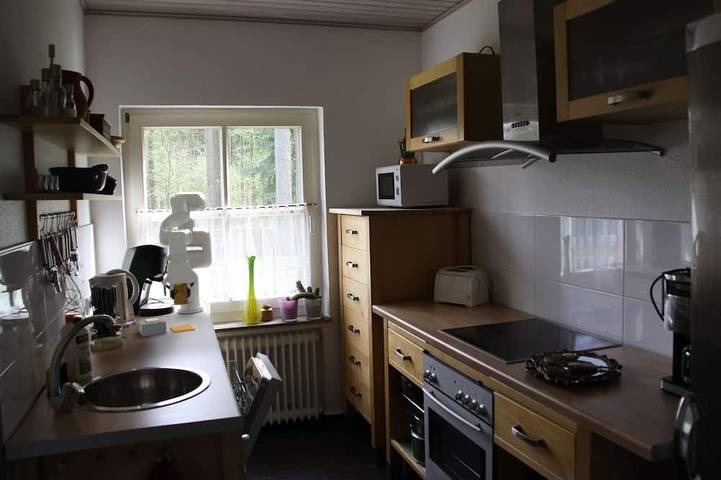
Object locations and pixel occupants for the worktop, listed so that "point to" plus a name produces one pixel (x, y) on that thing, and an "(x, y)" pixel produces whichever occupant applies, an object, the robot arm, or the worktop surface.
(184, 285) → the condiment
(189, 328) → the lockout pad
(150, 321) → the button
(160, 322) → the box
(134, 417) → the worktop surface
